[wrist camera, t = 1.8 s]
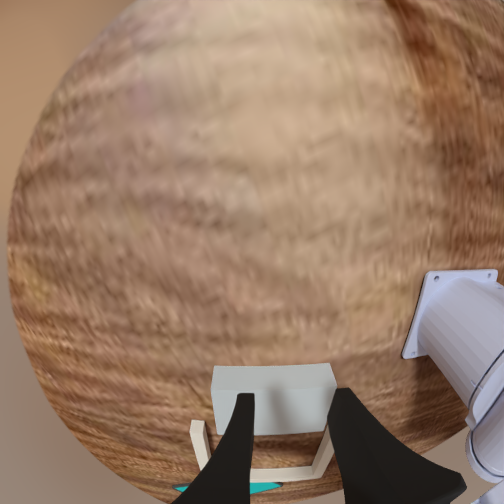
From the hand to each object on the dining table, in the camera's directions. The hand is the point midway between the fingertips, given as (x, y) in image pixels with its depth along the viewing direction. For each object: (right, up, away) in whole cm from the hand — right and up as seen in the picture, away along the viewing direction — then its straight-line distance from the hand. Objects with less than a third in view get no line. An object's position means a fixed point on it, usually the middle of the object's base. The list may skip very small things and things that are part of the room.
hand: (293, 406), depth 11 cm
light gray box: (0, -5, +11) cm, 12 cm away
